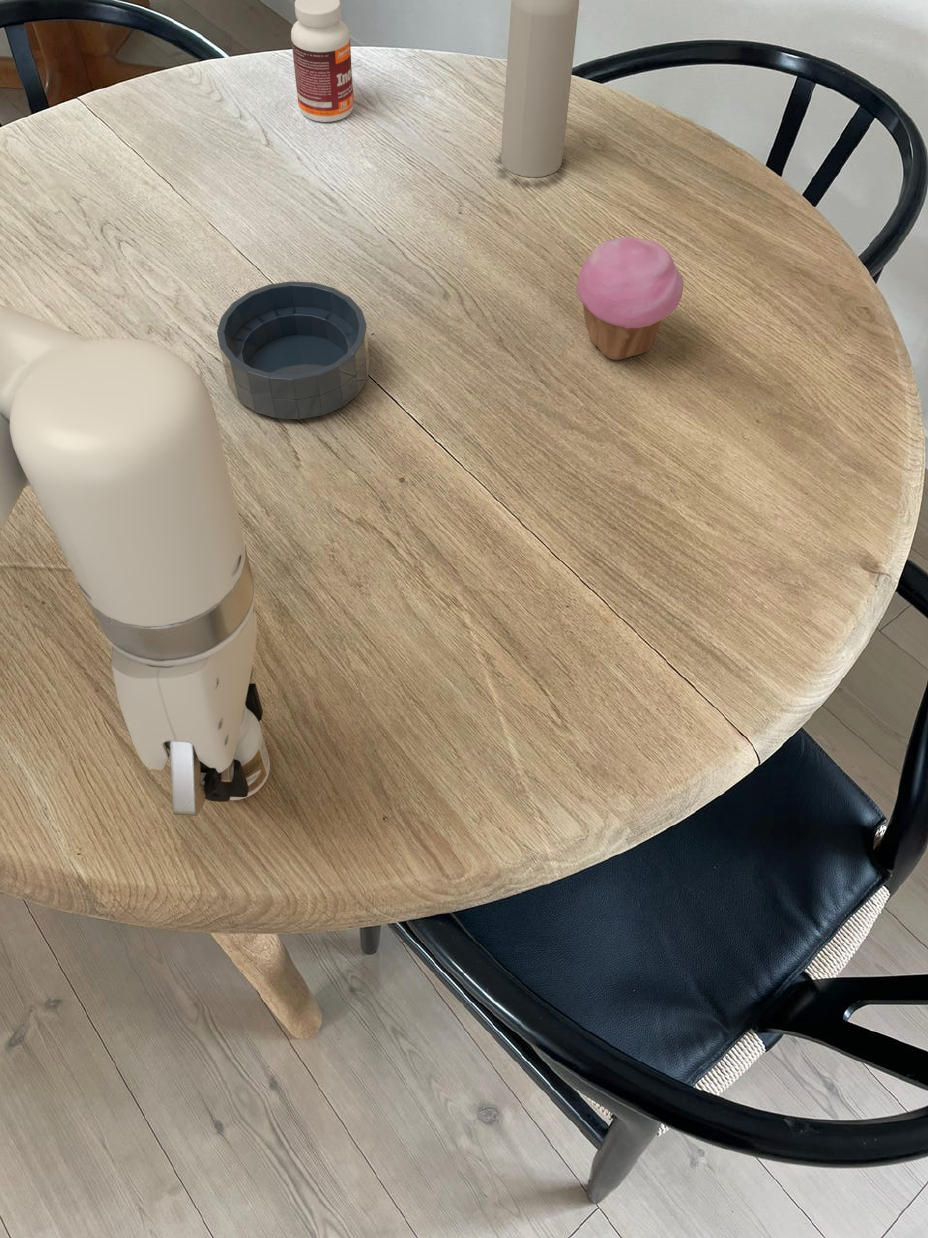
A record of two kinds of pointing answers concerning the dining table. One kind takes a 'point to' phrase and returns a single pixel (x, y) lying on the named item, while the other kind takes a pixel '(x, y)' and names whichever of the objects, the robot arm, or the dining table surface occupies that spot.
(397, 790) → the dining table surface
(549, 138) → the bottle
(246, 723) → the pill bottle
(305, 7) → the pill bottle
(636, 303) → the cupcake
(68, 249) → the dining table surface
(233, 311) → the bowl
